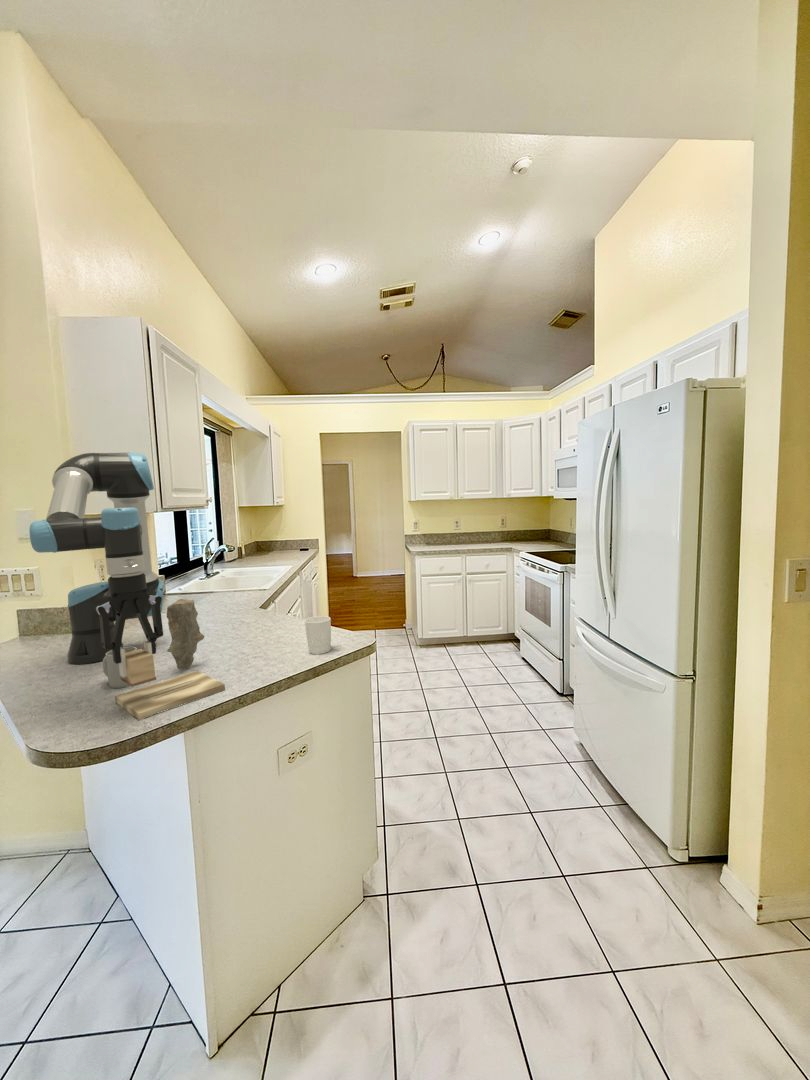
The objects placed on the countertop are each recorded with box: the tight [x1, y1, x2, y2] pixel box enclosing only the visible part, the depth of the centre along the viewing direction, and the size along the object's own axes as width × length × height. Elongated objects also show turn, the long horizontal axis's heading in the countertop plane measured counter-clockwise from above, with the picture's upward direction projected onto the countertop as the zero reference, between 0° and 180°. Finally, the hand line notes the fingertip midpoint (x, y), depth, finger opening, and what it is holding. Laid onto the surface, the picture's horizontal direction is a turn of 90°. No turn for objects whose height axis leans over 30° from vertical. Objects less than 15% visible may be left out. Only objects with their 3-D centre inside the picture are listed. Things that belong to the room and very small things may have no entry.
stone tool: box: [166, 598, 205, 671], centre depth 134 cm, size 12×6×20 cm, turn 150°
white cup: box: [304, 615, 332, 655], centre depth 145 cm, size 8×8×10 cm
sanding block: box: [120, 648, 157, 688], centre depth 110 cm, size 8×5×6 cm, turn 47°
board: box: [114, 670, 226, 721], centre depth 116 cm, size 16×20×2 cm
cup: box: [101, 646, 138, 689], centre depth 126 cm, size 7×10×9 cm
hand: (137, 671), depth 110 cm, fingers closed on sanding block, 5 cm apart
